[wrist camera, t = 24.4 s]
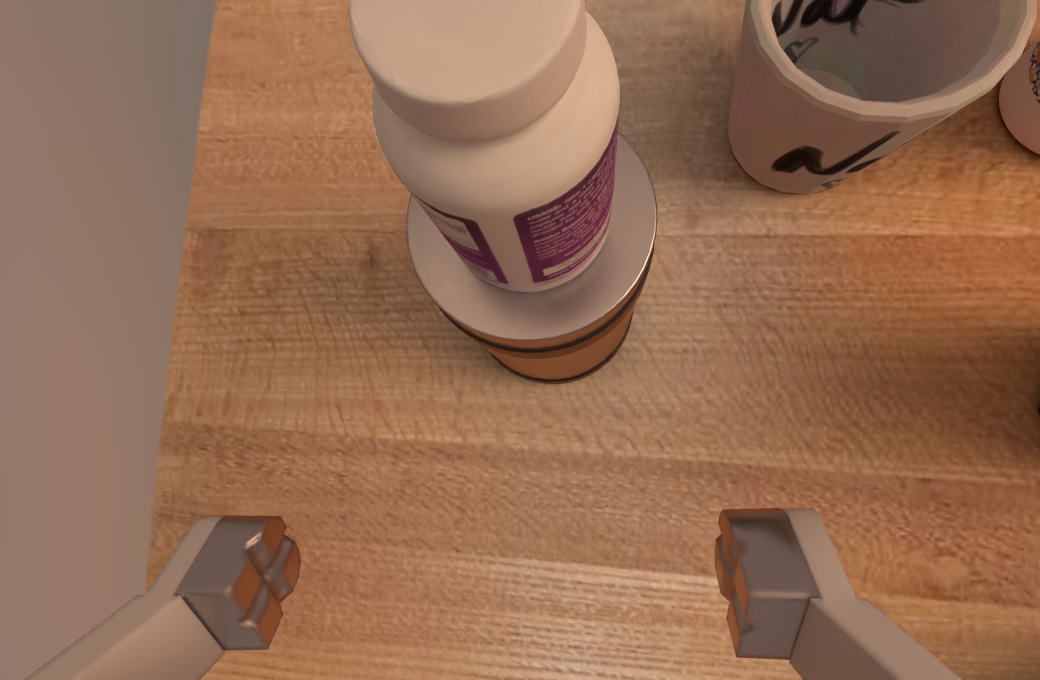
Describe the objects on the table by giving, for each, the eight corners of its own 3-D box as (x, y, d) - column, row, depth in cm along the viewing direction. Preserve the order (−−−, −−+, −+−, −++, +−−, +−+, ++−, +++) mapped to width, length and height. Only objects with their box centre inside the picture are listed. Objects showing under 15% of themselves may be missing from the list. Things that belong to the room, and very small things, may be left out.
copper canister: (504, 405, 31) (444, 381, 18) (458, 263, 32) (373, 150, 20) (655, 353, 30) (702, 291, 17) (600, 212, 32) (606, 62, 19)
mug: (745, 248, 31) (818, 158, 21) (643, 26, 34) (665, -143, 24) (934, 179, 30) (1099, 53, 20) (813, -40, 33) (906, -242, 23)
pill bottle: (601, 132, 19) (612, -177, 9) (620, 285, 18) (653, 112, 8) (443, 155, 19) (305, -115, 10) (454, 304, 18) (310, 162, 9)
